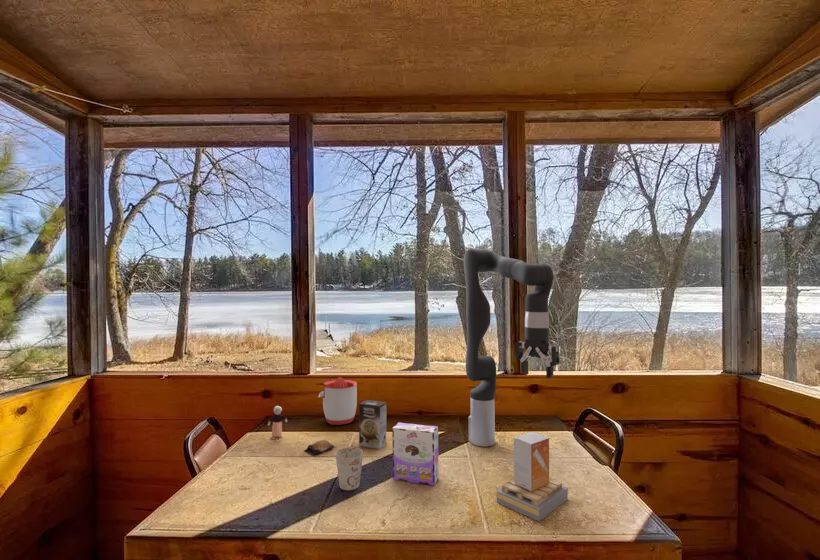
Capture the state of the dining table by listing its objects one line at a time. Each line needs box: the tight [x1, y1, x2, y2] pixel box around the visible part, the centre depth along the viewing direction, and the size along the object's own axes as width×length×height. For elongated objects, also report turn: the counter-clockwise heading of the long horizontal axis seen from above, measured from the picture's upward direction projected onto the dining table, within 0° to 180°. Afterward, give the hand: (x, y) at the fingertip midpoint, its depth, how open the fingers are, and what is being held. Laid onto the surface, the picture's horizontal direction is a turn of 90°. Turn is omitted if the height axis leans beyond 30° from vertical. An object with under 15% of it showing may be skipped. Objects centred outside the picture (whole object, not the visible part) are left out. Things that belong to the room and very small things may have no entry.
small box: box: [513, 431, 550, 492], centre depth 113 cm, size 8×6×13 cm
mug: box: [335, 446, 364, 491], centre depth 124 cm, size 8×13×10 cm, turn 27°
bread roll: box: [303, 439, 337, 457], centre depth 149 cm, size 11×8×4 cm
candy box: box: [391, 422, 440, 486], centre depth 126 cm, size 14×6×16 cm, turn 71°
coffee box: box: [358, 399, 388, 450], centre depth 154 cm, size 9×6×16 cm
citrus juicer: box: [318, 376, 358, 426], centre depth 180 cm, size 16×17×20 cm
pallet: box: [501, 477, 563, 506], centre depth 113 cm, size 11×14×2 cm
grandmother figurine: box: [267, 405, 288, 440], centre depth 162 cm, size 8×4×13 cm, turn 129°
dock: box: [495, 485, 569, 522], centre depth 113 cm, size 13×16×3 cm
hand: (536, 375), depth 129 cm, fingers open, 8 cm apart
